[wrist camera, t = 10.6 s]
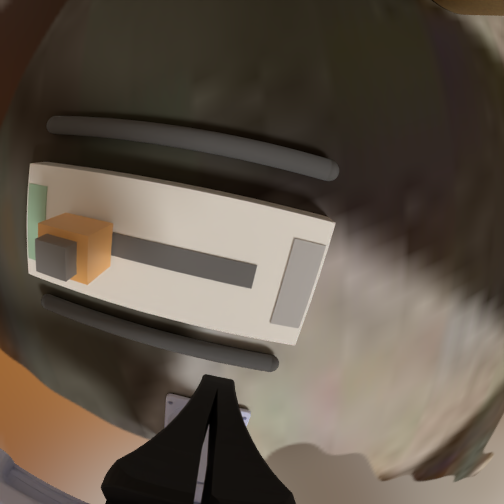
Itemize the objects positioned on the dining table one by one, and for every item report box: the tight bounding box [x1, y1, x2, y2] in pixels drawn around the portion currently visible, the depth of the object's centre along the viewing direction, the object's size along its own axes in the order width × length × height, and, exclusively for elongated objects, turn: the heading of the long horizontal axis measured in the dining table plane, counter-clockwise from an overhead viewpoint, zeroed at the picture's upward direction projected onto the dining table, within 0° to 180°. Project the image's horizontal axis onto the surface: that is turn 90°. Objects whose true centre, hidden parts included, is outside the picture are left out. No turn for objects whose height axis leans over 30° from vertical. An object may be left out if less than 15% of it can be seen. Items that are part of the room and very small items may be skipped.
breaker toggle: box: [35, 213, 113, 285], centre depth 16 cm, size 3×4×4 cm
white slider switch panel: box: [27, 162, 335, 345], centre depth 19 cm, size 9×22×2 cm, turn 77°
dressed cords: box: [41, 116, 339, 372], centre depth 19 cm, size 16×21×1 cm
